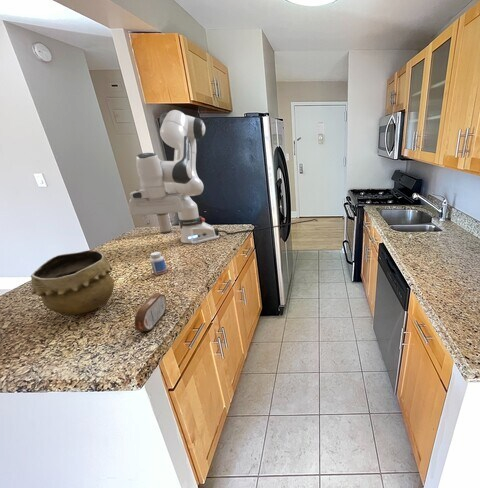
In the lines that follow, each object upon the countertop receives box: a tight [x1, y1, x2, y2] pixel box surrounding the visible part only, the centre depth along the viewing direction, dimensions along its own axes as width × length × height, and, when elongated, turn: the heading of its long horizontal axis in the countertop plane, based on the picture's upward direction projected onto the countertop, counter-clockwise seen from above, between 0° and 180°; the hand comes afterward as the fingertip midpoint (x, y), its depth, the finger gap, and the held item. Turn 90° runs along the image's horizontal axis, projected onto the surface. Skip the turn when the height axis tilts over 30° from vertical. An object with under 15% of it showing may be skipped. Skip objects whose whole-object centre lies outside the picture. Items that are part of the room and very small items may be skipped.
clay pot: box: [30, 249, 115, 316], centre depth 91 cm, size 21×21×20 cm
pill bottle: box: [149, 251, 168, 276], centre depth 120 cm, size 6×5×10 cm
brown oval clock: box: [134, 293, 167, 332], centre depth 87 cm, size 15×3×8 cm, turn 5°
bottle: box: [155, 213, 172, 234], centre depth 171 cm, size 7×7×30 cm
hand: (160, 223), depth 117 cm, fingers open, 8 cm apart
